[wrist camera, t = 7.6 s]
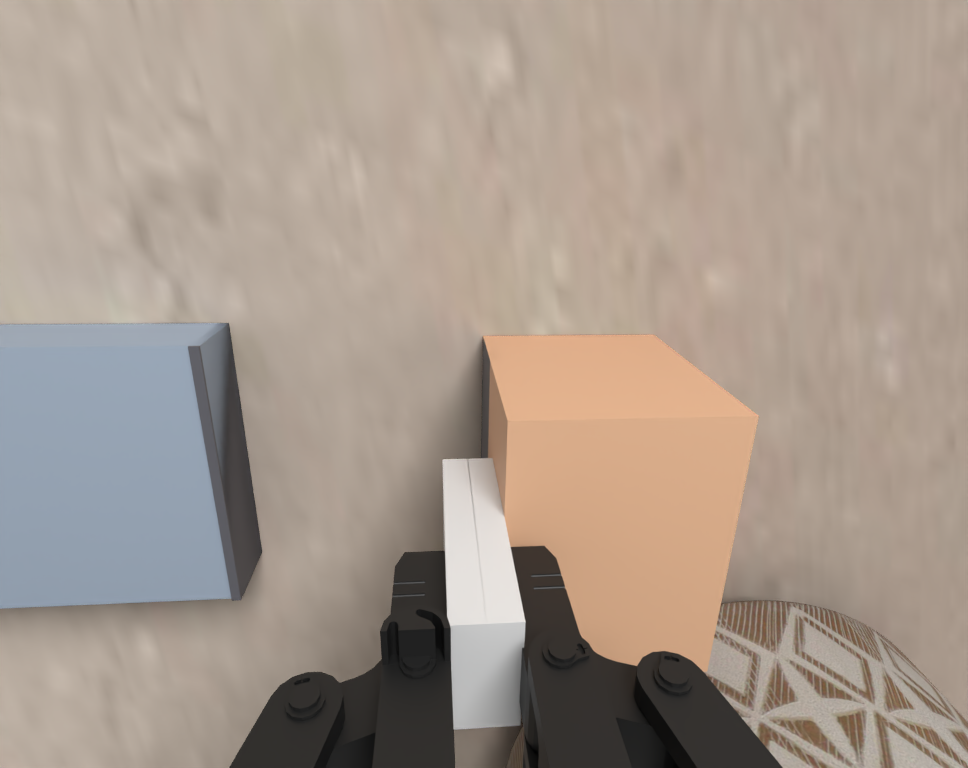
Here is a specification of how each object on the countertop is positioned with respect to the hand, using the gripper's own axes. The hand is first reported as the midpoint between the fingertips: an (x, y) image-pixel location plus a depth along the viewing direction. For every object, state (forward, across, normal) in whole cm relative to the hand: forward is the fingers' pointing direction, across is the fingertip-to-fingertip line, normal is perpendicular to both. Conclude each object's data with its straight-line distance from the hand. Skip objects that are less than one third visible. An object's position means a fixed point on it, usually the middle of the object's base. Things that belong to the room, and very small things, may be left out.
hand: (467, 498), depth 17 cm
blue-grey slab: (+4, -15, 0) cm, 15 cm away
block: (+4, +4, 0) cm, 5 cm away
